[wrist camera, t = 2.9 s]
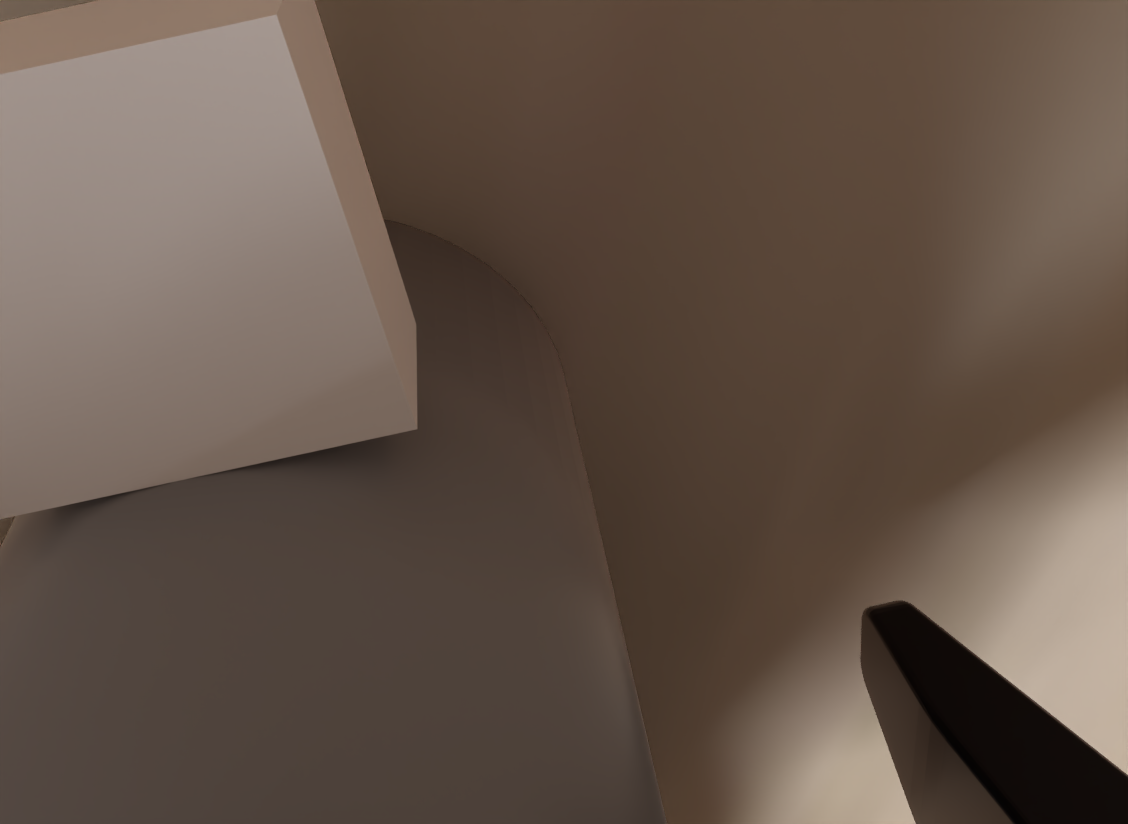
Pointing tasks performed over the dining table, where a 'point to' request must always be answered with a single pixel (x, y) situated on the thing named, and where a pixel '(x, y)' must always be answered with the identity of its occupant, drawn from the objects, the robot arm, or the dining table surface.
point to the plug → (276, 463)
